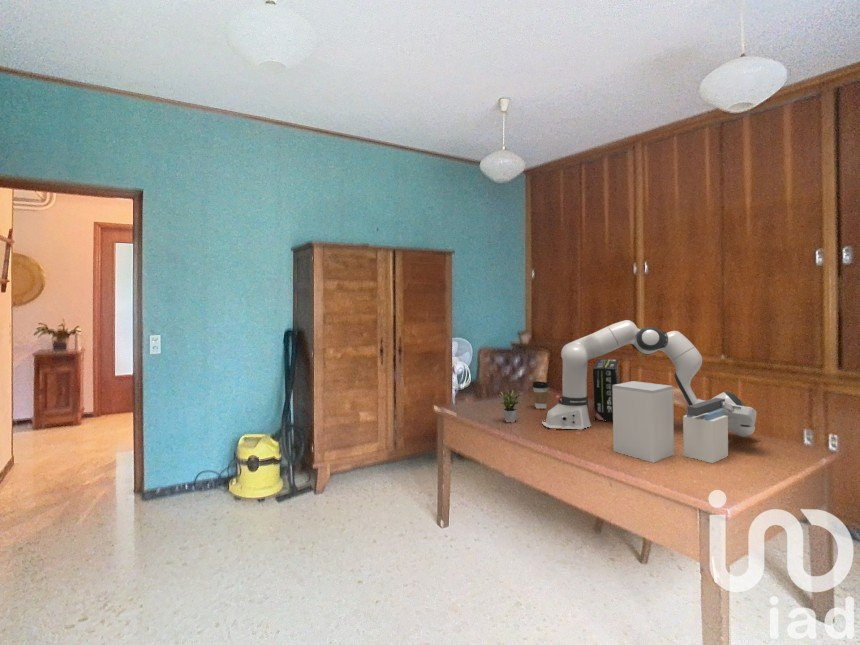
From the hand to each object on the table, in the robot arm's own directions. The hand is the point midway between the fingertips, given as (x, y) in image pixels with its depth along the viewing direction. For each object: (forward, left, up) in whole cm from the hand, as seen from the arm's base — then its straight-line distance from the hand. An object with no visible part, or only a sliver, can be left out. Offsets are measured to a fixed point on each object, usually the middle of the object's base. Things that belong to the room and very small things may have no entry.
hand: (715, 402), depth 170 cm
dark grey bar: (-6, -4, -2) cm, 7 cm away
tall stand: (-27, -1, -19) cm, 33 cm away
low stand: (-7, -5, -19) cm, 21 cm away
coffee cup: (-53, +75, -19) cm, 94 cm away
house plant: (-72, +47, -19) cm, 88 cm away
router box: (-21, +62, -19) cm, 68 cm away
